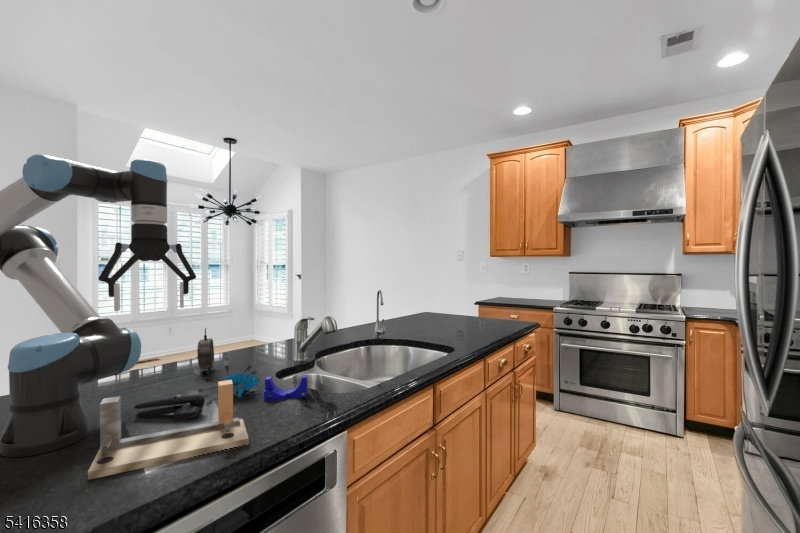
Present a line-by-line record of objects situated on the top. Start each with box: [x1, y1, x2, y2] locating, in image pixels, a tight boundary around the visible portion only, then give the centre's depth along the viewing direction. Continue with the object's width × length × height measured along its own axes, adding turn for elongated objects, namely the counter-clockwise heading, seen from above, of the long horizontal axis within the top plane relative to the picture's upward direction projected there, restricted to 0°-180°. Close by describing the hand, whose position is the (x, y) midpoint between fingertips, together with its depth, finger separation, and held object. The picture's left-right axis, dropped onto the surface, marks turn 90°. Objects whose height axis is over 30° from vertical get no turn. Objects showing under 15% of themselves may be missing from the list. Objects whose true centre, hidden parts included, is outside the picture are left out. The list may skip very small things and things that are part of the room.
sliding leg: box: [217, 380, 234, 432], centre depth 88 cm, size 3×8×9 cm, turn 28°
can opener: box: [133, 394, 205, 421], centre depth 100 cm, size 18×7×6 cm, turn 91°
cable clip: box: [263, 374, 309, 402], centre depth 114 cm, size 12×4×6 cm, turn 98°
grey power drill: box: [196, 327, 215, 375], centre depth 141 cm, size 11×5×16 cm, turn 22°
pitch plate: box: [87, 396, 250, 481], centre depth 83 cm, size 28×12×12 cm, turn 118°
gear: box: [223, 372, 259, 399], centre depth 115 cm, size 11×6×10 cm
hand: (150, 309), depth 95 cm, fingers open, 13 cm apart
